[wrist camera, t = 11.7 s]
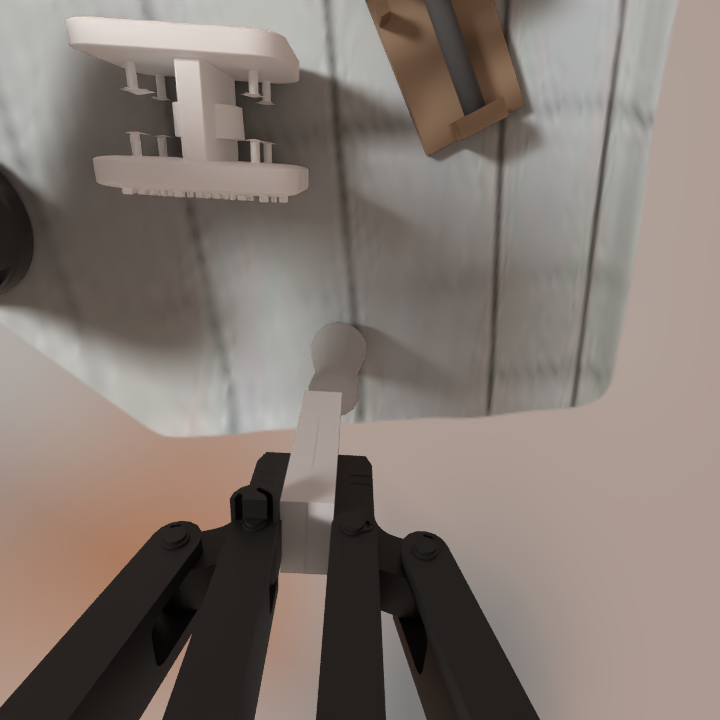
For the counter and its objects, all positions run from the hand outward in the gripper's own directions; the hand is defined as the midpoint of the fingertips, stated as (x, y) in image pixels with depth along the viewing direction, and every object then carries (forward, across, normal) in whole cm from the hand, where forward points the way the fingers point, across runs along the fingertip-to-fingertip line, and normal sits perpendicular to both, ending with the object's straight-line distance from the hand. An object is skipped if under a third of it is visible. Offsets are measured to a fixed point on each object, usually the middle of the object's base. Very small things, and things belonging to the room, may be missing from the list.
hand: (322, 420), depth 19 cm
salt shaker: (+30, 0, -8) cm, 31 cm away
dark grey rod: (+27, +6, +21) cm, 35 cm away
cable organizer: (+30, -11, +12) cm, 34 cm away
